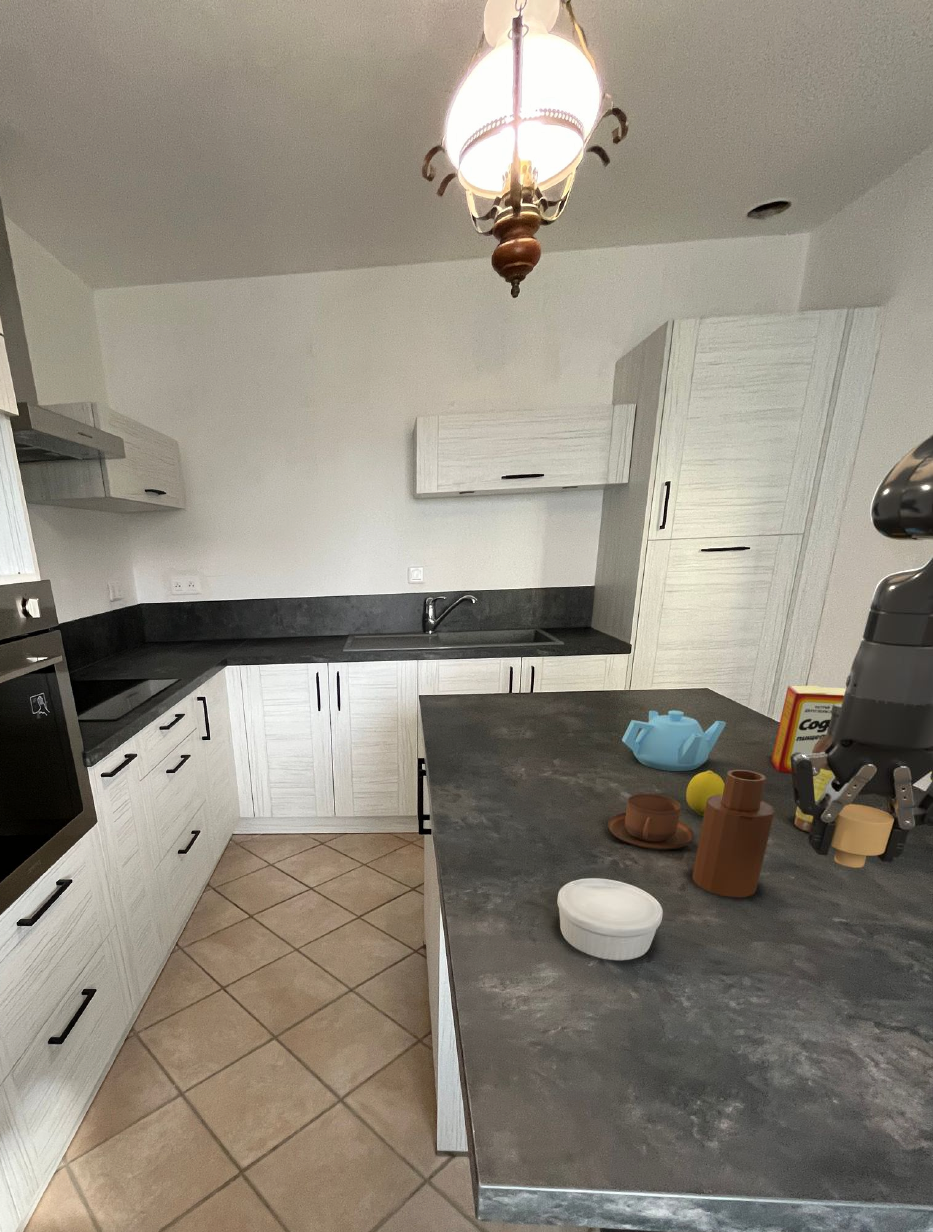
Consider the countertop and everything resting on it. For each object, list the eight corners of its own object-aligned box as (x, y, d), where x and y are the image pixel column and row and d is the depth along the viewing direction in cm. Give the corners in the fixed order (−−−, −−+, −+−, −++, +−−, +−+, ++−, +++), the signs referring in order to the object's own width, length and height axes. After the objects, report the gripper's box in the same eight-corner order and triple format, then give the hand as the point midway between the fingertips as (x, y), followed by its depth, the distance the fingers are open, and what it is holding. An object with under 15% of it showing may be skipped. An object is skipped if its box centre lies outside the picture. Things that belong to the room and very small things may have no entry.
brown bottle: (747, 878, 84) (772, 768, 78) (760, 906, 78) (788, 788, 72) (688, 871, 87) (708, 763, 81) (696, 897, 80) (718, 782, 75)
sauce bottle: (832, 841, 93) (868, 713, 86) (785, 828, 98) (815, 705, 91) (848, 829, 97) (883, 705, 90) (802, 817, 102) (832, 698, 94)
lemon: (719, 824, 100) (729, 778, 97) (681, 818, 103) (689, 773, 100) (721, 812, 104) (730, 768, 102) (684, 806, 107) (691, 763, 104)
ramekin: (630, 912, 78) (636, 875, 76) (675, 968, 67) (683, 927, 65) (541, 915, 78) (545, 878, 76) (572, 971, 67) (577, 930, 65)
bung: (868, 854, 65) (882, 806, 63) (887, 876, 60) (903, 825, 58) (813, 849, 66) (825, 801, 64) (828, 870, 62) (842, 820, 60)
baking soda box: (827, 765, 123) (847, 686, 118) (836, 776, 118) (858, 693, 112) (771, 761, 127) (788, 684, 121) (778, 771, 121) (796, 691, 116)
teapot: (646, 746, 139) (653, 699, 135) (720, 760, 129) (729, 709, 125) (616, 763, 129) (622, 712, 125) (693, 779, 119) (702, 725, 115)
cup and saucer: (702, 860, 89) (709, 821, 87) (613, 853, 92) (618, 815, 90) (680, 825, 100) (686, 790, 98) (601, 820, 103) (605, 786, 101)
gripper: (817, 697, 56) (778, 863, 62) (1024, 703, 51) (959, 883, 57) (794, 680, 63) (760, 832, 69) (975, 684, 58) (921, 847, 64)
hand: (851, 854), depth 63 cm, fingers closed on bung, 4 cm apart
